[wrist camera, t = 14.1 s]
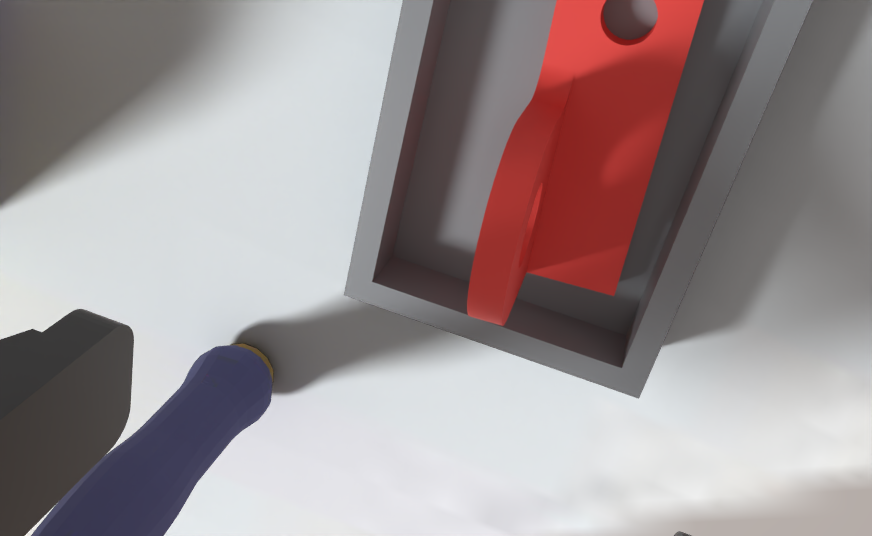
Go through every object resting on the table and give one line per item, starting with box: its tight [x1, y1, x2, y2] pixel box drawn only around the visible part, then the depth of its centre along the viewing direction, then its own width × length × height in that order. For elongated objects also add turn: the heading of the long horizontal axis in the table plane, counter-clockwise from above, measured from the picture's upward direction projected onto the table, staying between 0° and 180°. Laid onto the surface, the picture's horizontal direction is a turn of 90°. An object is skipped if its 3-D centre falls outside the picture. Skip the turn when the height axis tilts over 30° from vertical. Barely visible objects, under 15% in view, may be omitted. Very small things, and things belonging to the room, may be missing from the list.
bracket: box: [467, 0, 704, 326], centre depth 26 cm, size 12×4×8 cm, turn 170°
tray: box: [344, 0, 813, 398], centre depth 29 cm, size 18×12×4 cm, turn 167°
